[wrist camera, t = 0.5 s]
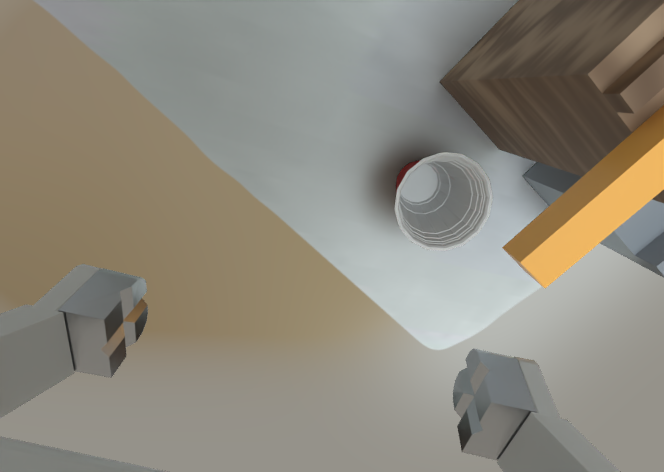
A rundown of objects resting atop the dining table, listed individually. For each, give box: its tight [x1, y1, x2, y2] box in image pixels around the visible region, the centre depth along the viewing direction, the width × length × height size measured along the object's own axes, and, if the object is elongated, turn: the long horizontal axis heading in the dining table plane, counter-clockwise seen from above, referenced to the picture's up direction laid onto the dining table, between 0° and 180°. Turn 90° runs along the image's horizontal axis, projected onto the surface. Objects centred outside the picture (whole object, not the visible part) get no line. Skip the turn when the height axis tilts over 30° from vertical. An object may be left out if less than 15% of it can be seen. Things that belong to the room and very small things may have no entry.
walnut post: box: [440, 0, 664, 203], centre depth 38 cm, size 14×12×32 cm
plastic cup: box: [395, 152, 493, 251], centre depth 51 cm, size 11×11×12 cm
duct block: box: [523, 162, 664, 277], centre depth 48 cm, size 18×10×18 cm, turn 136°
